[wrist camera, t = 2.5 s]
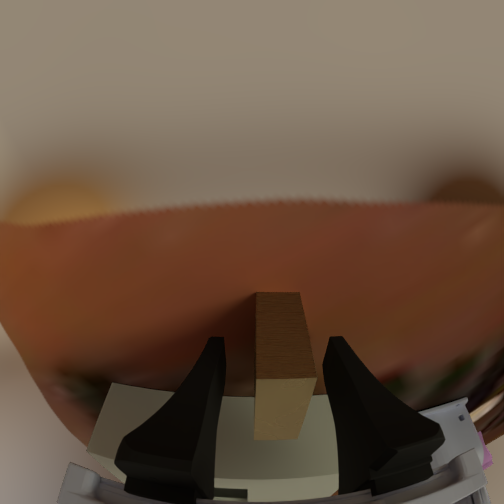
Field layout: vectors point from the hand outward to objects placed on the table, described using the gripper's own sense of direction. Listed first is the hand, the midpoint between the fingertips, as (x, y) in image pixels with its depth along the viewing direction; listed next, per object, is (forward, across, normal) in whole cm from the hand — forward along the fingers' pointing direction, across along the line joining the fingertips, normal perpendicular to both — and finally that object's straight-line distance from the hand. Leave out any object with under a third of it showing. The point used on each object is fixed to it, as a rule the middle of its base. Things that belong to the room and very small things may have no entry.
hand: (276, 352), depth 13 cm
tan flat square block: (+2, 0, 0) cm, 2 cm away
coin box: (+1, +3, +12) cm, 12 cm away
